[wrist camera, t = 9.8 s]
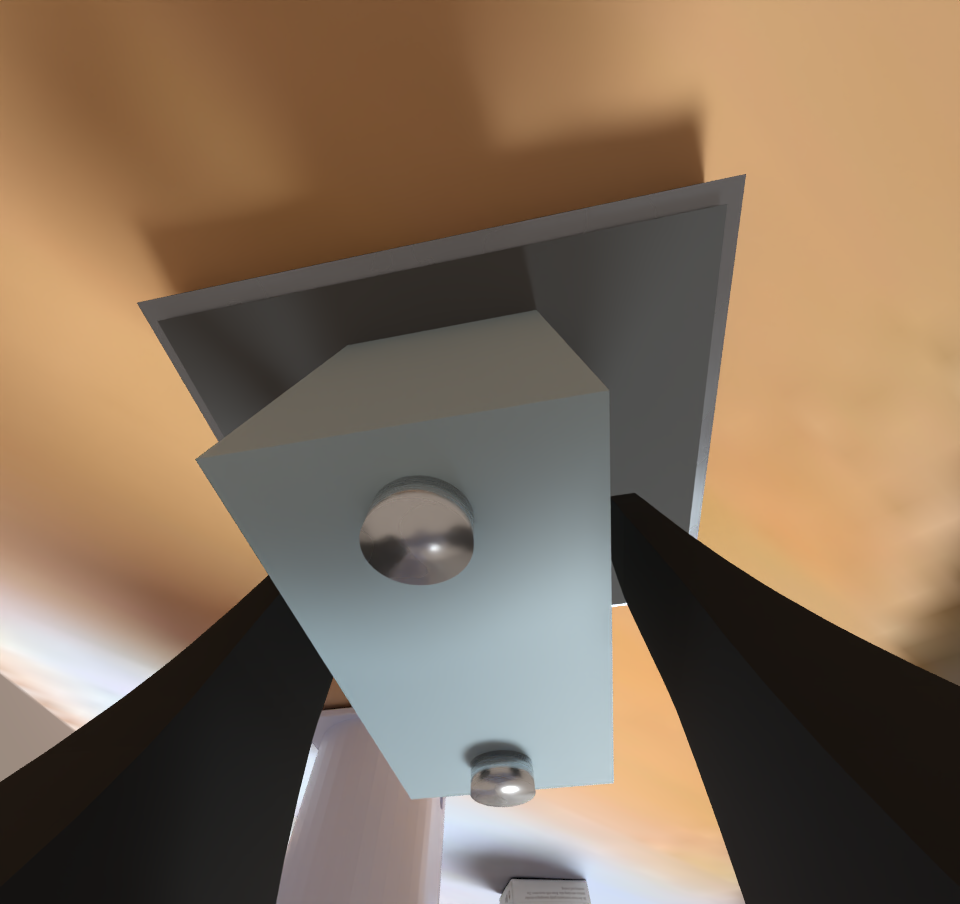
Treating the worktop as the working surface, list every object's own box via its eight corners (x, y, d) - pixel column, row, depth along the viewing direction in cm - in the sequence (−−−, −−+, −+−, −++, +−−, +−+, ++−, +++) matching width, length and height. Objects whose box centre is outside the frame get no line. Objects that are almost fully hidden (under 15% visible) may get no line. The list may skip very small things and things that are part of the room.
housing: (563, 584, 14) (620, 810, 8) (435, 600, 15) (407, 827, 9) (536, 309, 9) (625, 406, 4) (347, 345, 10) (165, 481, 4)
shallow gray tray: (670, 565, 16) (693, 603, 15) (347, 606, 18) (332, 646, 16) (705, 185, 10) (754, 171, 8) (183, 295, 11) (127, 304, 9)
